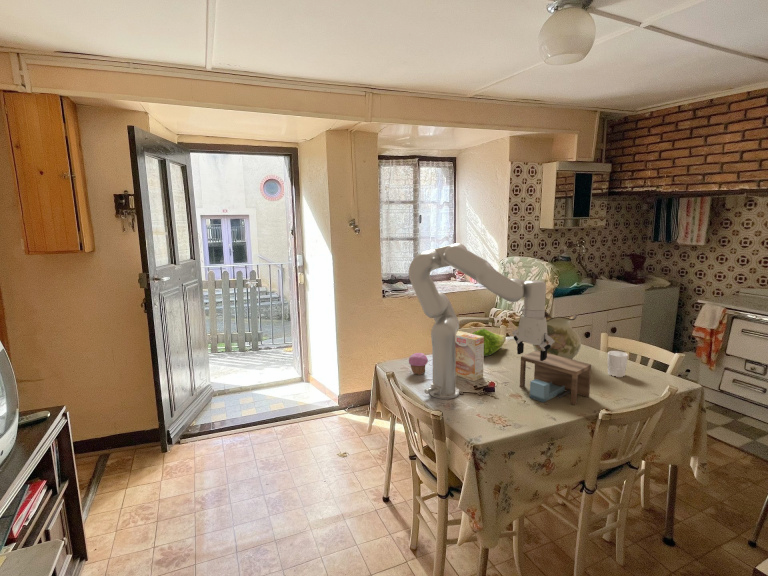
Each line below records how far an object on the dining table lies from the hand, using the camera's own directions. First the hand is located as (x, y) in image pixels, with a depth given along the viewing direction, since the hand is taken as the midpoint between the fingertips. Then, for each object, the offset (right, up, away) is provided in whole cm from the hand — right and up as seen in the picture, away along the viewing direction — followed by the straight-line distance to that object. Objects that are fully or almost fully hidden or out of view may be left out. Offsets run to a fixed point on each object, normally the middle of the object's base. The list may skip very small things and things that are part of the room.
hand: (531, 356), depth 160 cm
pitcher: (+29, -10, +49) cm, 58 cm away
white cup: (+49, -13, +30) cm, 59 cm away
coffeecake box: (-19, -14, +33) cm, 41 cm away
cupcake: (-40, -14, +37) cm, 56 cm away
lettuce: (+1, -8, +66) cm, 66 cm away
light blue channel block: (+10, -17, +11) cm, 23 cm away
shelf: (+14, -17, +14) cm, 26 cm away
